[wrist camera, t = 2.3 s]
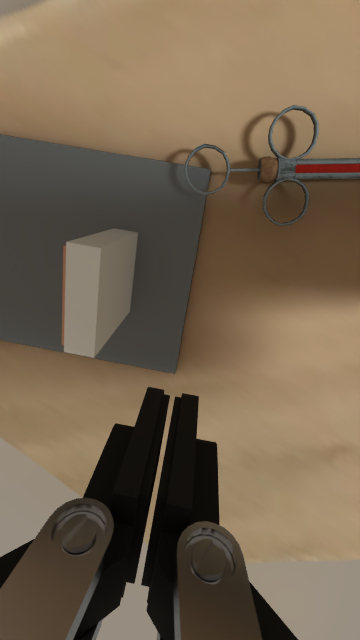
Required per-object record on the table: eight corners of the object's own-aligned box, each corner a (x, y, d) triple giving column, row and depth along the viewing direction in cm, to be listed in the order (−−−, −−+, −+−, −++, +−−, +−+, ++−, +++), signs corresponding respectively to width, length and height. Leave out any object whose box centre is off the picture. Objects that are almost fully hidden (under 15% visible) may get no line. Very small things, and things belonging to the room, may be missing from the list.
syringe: (421, 225, 24) (437, 226, 22) (185, 224, 25) (183, 226, 24) (452, 105, 21) (472, 97, 20) (185, 111, 22) (183, 105, 21)
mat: (211, 169, 24) (211, 169, 24) (175, 371, 31) (175, 373, 30) (-62, 124, 25) (-68, 123, 25) (-40, 329, 32) (-43, 331, 31)
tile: (138, 232, 26) (100, 248, 18) (129, 311, 28) (94, 357, 20) (110, 227, 26) (61, 240, 18) (105, 306, 29) (59, 351, 20)
